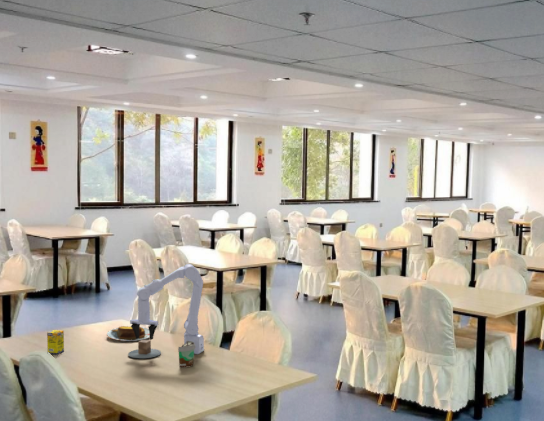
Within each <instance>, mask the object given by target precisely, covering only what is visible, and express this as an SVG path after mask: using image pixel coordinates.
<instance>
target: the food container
mask: <svg viewBox="0 0 544 421" xmlns="http://www.w3.org/2000/svg"><path fill="white" fill-rule="evenodd" d="M195 348H196V347H195V344H194V342H192V341H186V343H185V344H184V343H182V345H181V346H178V348H177V349H178V362H179V363H178V366H179V368H188V367H189V366H190V367H192V366H193V365H194V357H195V354H194V349H195Z"/></svg>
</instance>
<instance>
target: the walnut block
mask: <svg viewBox="0 0 544 421" xmlns="http://www.w3.org/2000/svg"><path fill="white" fill-rule="evenodd" d="M151 342H152V340H150V339H141V340H138V342H137V346H138V348H137V349H138V354H146V355H147V354H148V353H150V352H151V349H152V343H151Z"/></svg>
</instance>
